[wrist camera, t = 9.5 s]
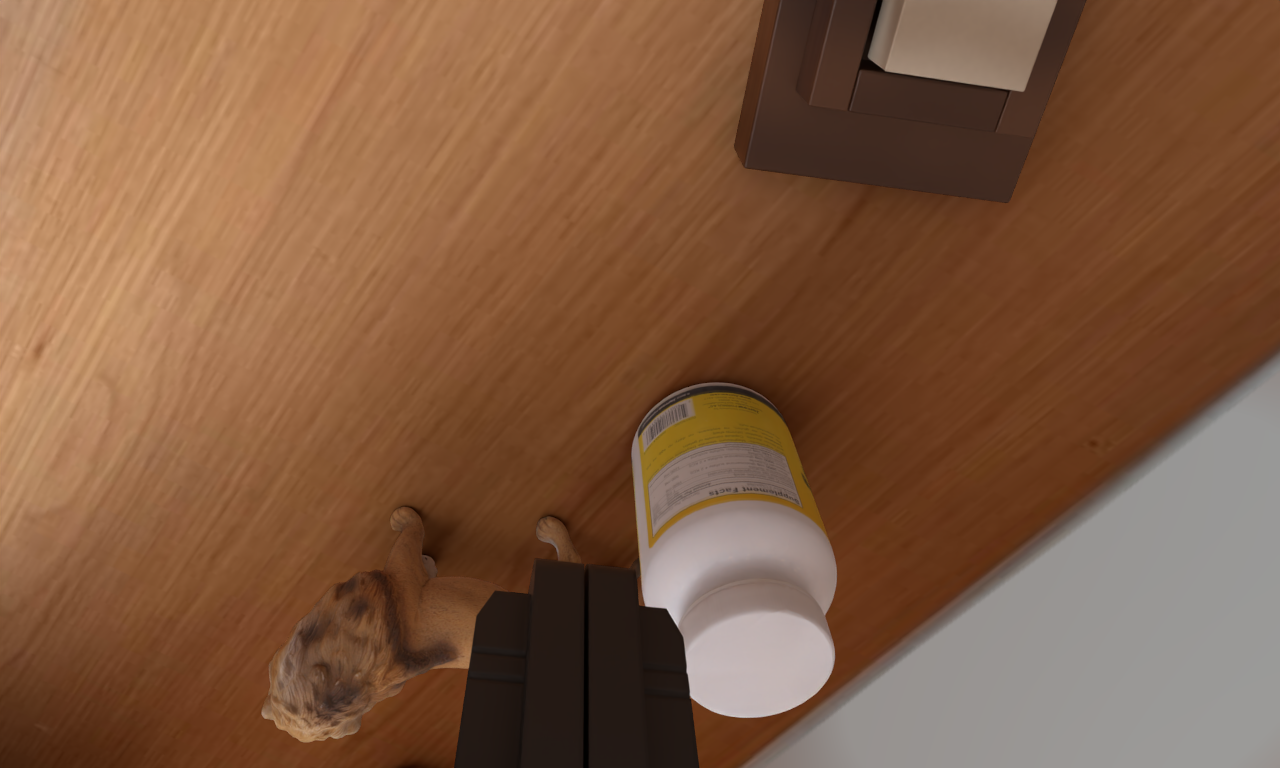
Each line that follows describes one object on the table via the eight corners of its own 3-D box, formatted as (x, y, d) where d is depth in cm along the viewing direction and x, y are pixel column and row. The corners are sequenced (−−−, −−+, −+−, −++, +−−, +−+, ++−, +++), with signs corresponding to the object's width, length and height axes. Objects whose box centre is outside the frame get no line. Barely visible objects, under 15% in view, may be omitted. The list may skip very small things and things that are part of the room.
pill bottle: (726, 525, 38) (777, 762, 28) (599, 465, 36) (607, 698, 26) (820, 418, 36) (912, 639, 26) (688, 346, 34) (734, 557, 24)
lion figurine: (326, 596, 39) (264, 779, 32) (305, 502, 36) (231, 678, 29) (655, 588, 40) (672, 765, 32) (659, 497, 37) (679, 666, 30)
